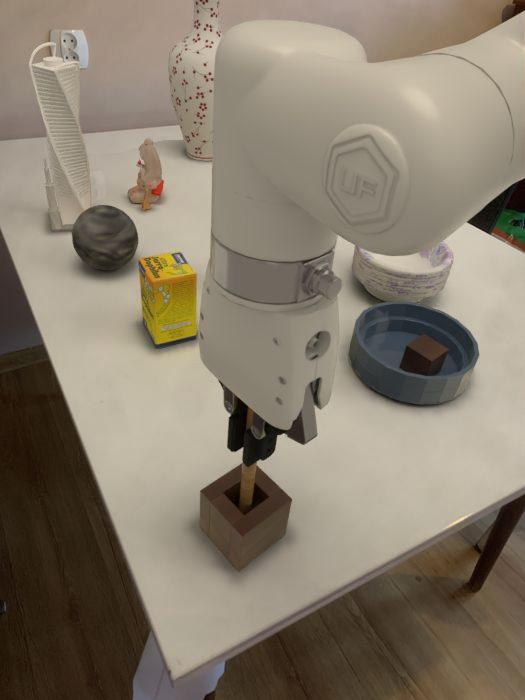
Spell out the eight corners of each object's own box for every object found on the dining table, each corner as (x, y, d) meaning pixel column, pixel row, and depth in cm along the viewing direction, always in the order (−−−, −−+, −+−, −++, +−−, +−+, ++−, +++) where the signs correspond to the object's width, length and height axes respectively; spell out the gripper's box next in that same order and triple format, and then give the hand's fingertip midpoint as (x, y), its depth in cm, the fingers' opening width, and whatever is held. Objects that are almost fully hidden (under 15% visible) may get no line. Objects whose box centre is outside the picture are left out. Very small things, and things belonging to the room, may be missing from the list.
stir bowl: (488, 372, 74) (502, 345, 71) (420, 427, 66) (432, 398, 62) (395, 315, 83) (403, 288, 80) (324, 357, 74) (330, 328, 71)
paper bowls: (331, 270, 92) (339, 228, 87) (407, 259, 97) (418, 219, 92) (376, 323, 81) (389, 278, 76) (458, 308, 86) (475, 265, 81)
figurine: (126, 190, 109) (131, 129, 102) (160, 195, 111) (167, 135, 104) (127, 209, 102) (133, 144, 95) (163, 213, 104) (171, 150, 97)
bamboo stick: (251, 531, 53) (267, 403, 41) (241, 538, 52) (255, 410, 41) (243, 523, 54) (256, 395, 42) (234, 529, 53) (245, 401, 41)
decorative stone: (92, 246, 91) (84, 190, 85) (148, 255, 91) (145, 199, 84) (65, 276, 84) (54, 217, 77) (127, 287, 83) (121, 228, 77)
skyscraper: (52, 210, 100) (21, 39, 82) (97, 208, 102) (77, 41, 84) (51, 232, 94) (18, 53, 76) (100, 229, 96) (78, 54, 78)
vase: (198, 172, 119) (198, -18, 96) (156, 149, 127) (148, -31, 105) (252, 158, 128) (265, -19, 105) (210, 137, 136) (213, -31, 114)
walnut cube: (440, 371, 73) (449, 349, 70) (423, 384, 71) (431, 361, 68) (416, 356, 75) (424, 333, 72) (398, 367, 73) (406, 344, 70)
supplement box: (142, 324, 76) (136, 257, 69) (181, 315, 79) (180, 249, 72) (155, 350, 72) (151, 281, 65) (197, 339, 75) (197, 272, 68)
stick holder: (285, 534, 53) (292, 499, 49) (238, 571, 50) (242, 536, 46) (245, 494, 56) (249, 457, 52) (199, 526, 53) (199, 490, 49)
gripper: (409, 296, 31) (350, 486, 43) (237, 197, 39) (227, 379, 51) (320, 345, 27) (282, 541, 39) (149, 223, 35) (160, 415, 47)
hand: (251, 448), depth 45 cm, fingers closed on bamboo stick, 1 cm apart
